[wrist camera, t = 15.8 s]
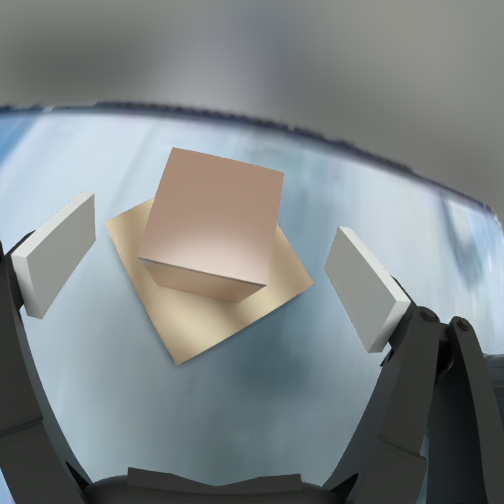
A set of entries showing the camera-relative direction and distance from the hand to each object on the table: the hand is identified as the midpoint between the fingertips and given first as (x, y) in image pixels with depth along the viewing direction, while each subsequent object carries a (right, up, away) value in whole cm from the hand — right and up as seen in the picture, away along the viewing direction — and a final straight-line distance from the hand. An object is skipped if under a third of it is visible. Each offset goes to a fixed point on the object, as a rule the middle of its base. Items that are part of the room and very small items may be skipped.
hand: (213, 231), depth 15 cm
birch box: (-3, -2, +19) cm, 19 cm away
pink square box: (-3, -1, +14) cm, 14 cm away
